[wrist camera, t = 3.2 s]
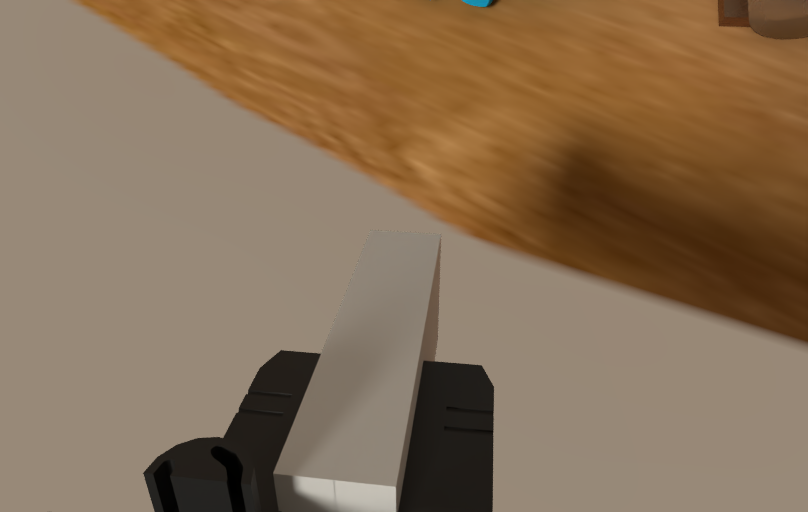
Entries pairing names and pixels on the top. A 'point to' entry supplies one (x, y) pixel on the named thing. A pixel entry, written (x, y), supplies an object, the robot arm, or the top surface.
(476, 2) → the gear
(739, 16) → the guide pipe
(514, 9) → the top surface
